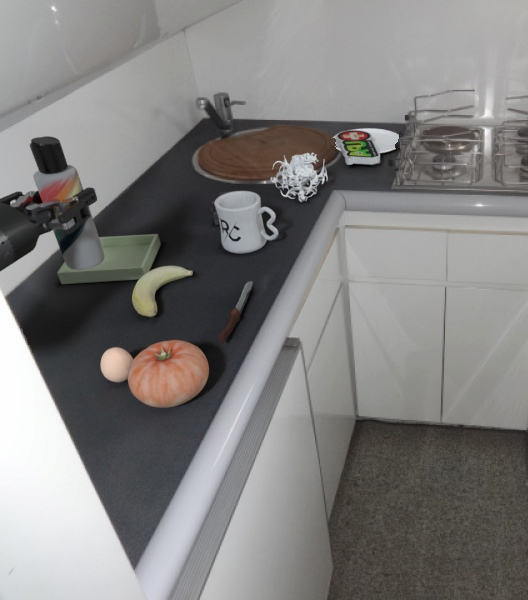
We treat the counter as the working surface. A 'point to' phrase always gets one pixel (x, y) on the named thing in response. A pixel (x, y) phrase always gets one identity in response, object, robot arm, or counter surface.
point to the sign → (358, 147)
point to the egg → (116, 364)
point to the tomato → (168, 373)
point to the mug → (243, 222)
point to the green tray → (117, 260)
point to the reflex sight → (215, 214)
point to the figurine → (300, 175)
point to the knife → (236, 313)
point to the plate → (380, 139)
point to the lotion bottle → (62, 185)
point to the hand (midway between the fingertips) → (75, 191)
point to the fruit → (154, 287)
